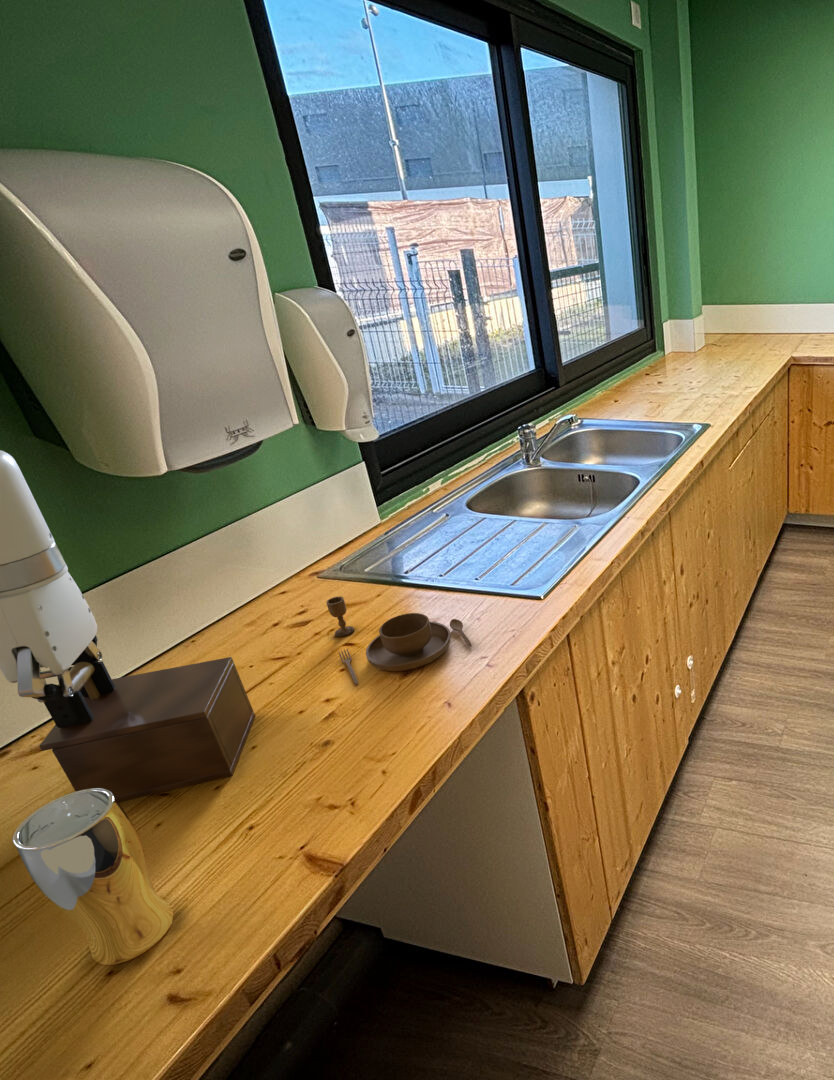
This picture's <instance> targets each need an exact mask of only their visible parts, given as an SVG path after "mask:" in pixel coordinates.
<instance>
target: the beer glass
mask: <svg viewBox="0 0 834 1080" xmlns="http://www.w3.org/2000/svg"><path fill="white" fill-rule="evenodd" d="M141 841H142V840H141V838H140V836H139V833H138V831H137V828H136V826H135V825H134V824H133V822H132V820H131V819H130V817H129V816H128V814H127V813H126V811H125V810H124V808H123V807H122V806H121V805H120V802H117V800H116V799H115V798H114V796H113V794H112V792H110V791H109V790H106V789H102V788H90V789H84V790H80V791H72V792H70V793H68V794H64V795H62V796H60V797H58V798H55V799H53V800H51V801H49V802H48V803H45V804H44V805H43V806H40V807H39V808H37V809H36V810H35V811H33V812H31V814H30V815H28V816H27V817H26V818H25V819H24V820H23V821H22V822H21V823H20V824H19V825H18V826H17V828H16V829H15V831H14V833H13V836H12V843H13V846H14V847H15V848H16V850H17V852H18V854H19V856H20V858H21V860H22V863H23V865H24V867H25V869H26V871H27V872H28V875H29V876H30V877H31V879H32V882H34V884H35V885H36V886H37V888H38V889H39V890H40V892H41V894H43V895H44V896H45V898H47V899H48V900H49V902H51V903H52V904H53V905H54V906H56V907H57V908H58V909H59V910H60V911H62V913H64V914H65V915H66V916H68V917H69V918H70V919H71V920H73V921H74V922H75V923H76V924H77V925H78V926H79V928H80V929H81V930H82V931H83V933H84V935H85V937H86V940H87V943H88V948H89V951H90V954H91V958H92V959H93V960H94V961H95V962H96V963H97V964H100V965H103V966H113V965H114V966H115V965H118V964H122V963H123V964H124V963H125V962H129V961H131V960H133V959H135V958H137V957H139V956H141V955H142V954H144V953H145V952H147V951H148V950H150V949H151V948H152V947H154V946H155V945H156V944H157V943H158V942H159V941H160V940H161V939H163V937H165V935H166V933H167V932H168V931H169V929H170V928H171V926H172V924H173V920H174V911H173V908H172V907H171V906H170V905H169V903H168V902H167V901H165V899H163V898H162V896H160V895H159V894H158V892H157V891H156V890H155V888H154V886H153V883H152V880H151V877H150V873H149V868H148V863H147V859H146V854H145V850H144V847H143V844H142V842H141Z"/></svg>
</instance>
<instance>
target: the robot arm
mask: <svg viewBox="0 0 834 1080" xmlns="http://www.w3.org/2000/svg"><path fill="white" fill-rule="evenodd" d="M97 633H98V624H97V620H96V619H95V616H94V614H93V612H92V610H91V608H90V606H89V603H88V602H87V600H86V598H85V596H84V594H83V593H82V591H81V589H80V587H79V586H78V585H77V583H76V581H75V580H74V577H72V575H71V573H70V572H69V566H68V565H67V563H66V561H65V559H64V557H63V555H62V553H61V551H60V549H59V547H58V545H57V543H56V541H55V538H54V536H53V534H52V532H51V530H50V528H49V526H48V524H47V522H46V520H45V518H44V515H43V514H42V511H41V509H40V508H39V505H38V504H37V501H36V499H35V498H34V495H33V493H32V490H31V489H30V487H29V485H28V483H27V481H26V478H25V477H24V475H23V473H22V471H21V468H20V466H19V465H18V463H17V461H16V460H15V458H14V456H12V455H11V454H10V453H8V452H6V451H5V450H1V449H0V672H1V674H2V675H3V677H4V678H5V680H6V681H7V682H9V683H10V684H16V683H17V694H18V696H19V697H21V698H31V699H34V700H37V701H38V703H43V704H44V706H45V708H46V710H47V711H48V713H49V715H50V717H51V719H52V721H53V722H54V724H56V726H57V727H58V728H65V727H70V726H75V725H80V724H85V723H89V722H91V721H92V719H93V718H94V717H93V715H92V713H91V711H90V709H89V707H88V705H87V703H86V701H85V699H84V697H87V696H89V695H88V693H87V691H86V689H85V687H84V686H83V687H82V689H81V690H79V691H74V688H73V684H72V681H71V677H70V674H69V671H70V670H71V668H72V667H73V666H74V665H75V664H76V663H79V662H88V663H90V664H92V665H93V666H94V668H95V672H94V673H93V675H92V676H91V678H92V680H93V682H94V684H95V686H96V688H97V690H98V692H99V694H103V693H108V692H112V691H113V690H114V688H115V685H114V683H113V681H112V679H113V678H112V677H111V676H110V673H109V671H108V669H107V667H106V665H105V662H104V661H103V653H102V650H100V648H99V647H98V640H99V639H98V636H97ZM41 668H45V669H47V668H49V669H48V670H43V671H42V670H41ZM50 678H56V679H57V682H58V684H59V685H60V686H59V685H58V684H55V683H48V684H47V680H46V679H50Z"/></svg>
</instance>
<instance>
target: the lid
mask: <svg viewBox="0 0 834 1080" xmlns="http://www.w3.org/2000/svg"><path fill="white" fill-rule="evenodd" d="M233 662H234V659H233V657H232V656H228V657H224V658H218V659H213V660H207V661H202V662H196V663H191V664H185V665H181V666H175V667H170V668H164V669H159V670H154V671H148V672H143V673H138V674H132V675H127V676H122V677H117V678H111V679H112V681H113V683H114V685H115V688H114V690H113V691H112V692H108V693H103V694H99V692H98V690H97V688H96V686H95V684H94V682H93V680H92V678H91V676H92V675H93V673H94V672H95V668H94V666H93V665H92V664H90V663H88V662H79V663H76V664H75V665H73V666H71V667H72V668H71V670H70V671H69V674H70V677H71V681H72V684H73V688H74V691H79V690H81V689H82V687H83V686H84V687H85V689H86V691H87V693H88V695H89V696H87V697H84V699H85V701H86V703H87V705H88V707H89V709H90V711H91V713H92V715H93V717H94V718H93V719H92V721H91V722H89V723H85V724H80V725H75V726H70V727H65V728H58V727H57V726H56V724H55V723H54V724H55V725H53V727H52V728H51V729H50V731H49V732H48V734H47V735H46V736H45V737H44V738H43V740H42V741H41V742H40V744H39V745H38V746H39V748H40V751H41V752H44V751H45V752H46V751H50V750H52V749H55V748H60V747H65V746H70V745H74V744H79V743H84V742H89V741H94V740H99V739H103V738H108V737H113V736H118V735H123V734H128V733H132V732H137V731H142V730H147V729H152V728H157V727H161V726H166V725H171V724H176V723H181V722H186V721H190V720H195V719H200V718H205V717H207V715H208V713H209V711H210V709H211V707H212V705H213V703H214V701H215V699H216V697H217V695H218V693H219V691H220V688H221V686H222V684H223V682H224V680H225V678H226V676H227V674H228V672H229V670H230V668H231V666H232V664H233ZM57 685H59V683H58V684H57ZM59 686H60V685H59Z"/></svg>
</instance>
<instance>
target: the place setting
mask: <svg viewBox="0 0 834 1080" xmlns="http://www.w3.org/2000/svg"><path fill="white" fill-rule="evenodd" d="M325 603H326V607H327V609H328V612H329V614H330V615H331V616H332V617H333V618H336V619H337V620H338V623H337V625H338V626H339V627H340V628H338V629H336V631H335V632H334V636H335V637H337V638H343V637H347V636H349V635H350V636H351V634H353V633H354V632H355V627H353V626H347V622H346V620H345V619H344V616H345V615H346V614H347V606H346V602H345V599H344V597H343V596H334V597H331V598H329V599H327V600H326V602H325ZM463 626H464V624H463V622H462V621H461V620H460V619H457V618H452V619H451V620H450V622H449V627H450V629H452V630H454V631H457V632H458V633H459V634H460V635H461V637H462V639H463V641H464V642H465V644H466V645H467V646H468V647H472V645H473V644H472V642H471V641H470V639H469V638H468V637H467V635H466V633H465V632H464V631H463ZM449 627H448V626H446V625H445V624H444V623H440V622H437V621H431V620H430V619H429V617H428V616H427V615H425V614H423V613H419V612H410V613H403V614H399V615H396V616H394V617H391V618H389V619H388V620H386V621H385V622H383V623H382V624H381V626H379V629H378V633H379V635H377V636H376V637H374V639H372V640H371V641H370V642H369V644H368V645H367V647H366V648H365V655H366V659H367V661H368V662H369V664H370V665H372V667H374V668H375V669H378V670H382V671H386V672H404V671H409V670H414V669H417V668H420V667H423V666H425V665H427V664H430V663H431V662H433V661H435V660H436V659H438V658H439V657H440V656H442V654H444V653H445V652H446V651H447V650H448V648H449V647H450V644H451V640H452V635H451V630H450V629H449ZM340 652H341V653H340ZM344 654H345V655H344ZM338 655H339V658H340V660H341V662H342V664H346V666H347V669H348V671H349V673H350V676H351V678H352V681H353V682H354V684H355V686H357V685H359V681H358V678H357V675H356V673H355V671H354V669H353V666H352V665H351V662H352V660H353V659H352V657H351V654H350V651H349V650H348V648H346V650H345V649H343V650H342V649H341V650H340V651H338Z"/></svg>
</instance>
